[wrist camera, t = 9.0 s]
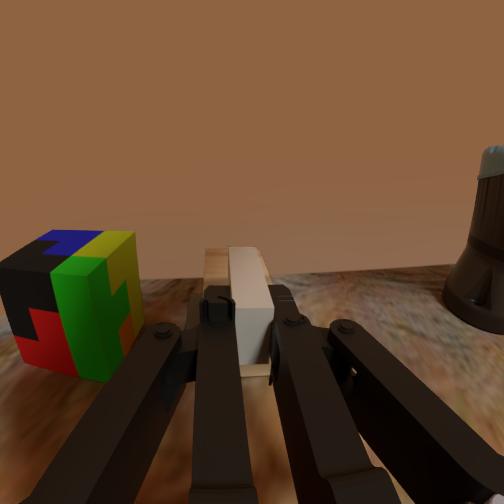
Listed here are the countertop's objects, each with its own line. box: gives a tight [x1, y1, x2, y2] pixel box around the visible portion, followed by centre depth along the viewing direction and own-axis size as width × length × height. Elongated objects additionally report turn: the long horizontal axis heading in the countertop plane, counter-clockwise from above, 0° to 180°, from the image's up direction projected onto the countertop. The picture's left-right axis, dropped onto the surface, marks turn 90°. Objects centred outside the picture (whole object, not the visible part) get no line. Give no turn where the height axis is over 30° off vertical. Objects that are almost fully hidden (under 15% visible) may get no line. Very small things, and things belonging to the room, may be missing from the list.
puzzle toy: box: [0, 230, 145, 383], centre depth 25 cm, size 10×10×10 cm
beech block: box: [203, 249, 273, 377], centre depth 30 cm, size 6×6×14 cm
